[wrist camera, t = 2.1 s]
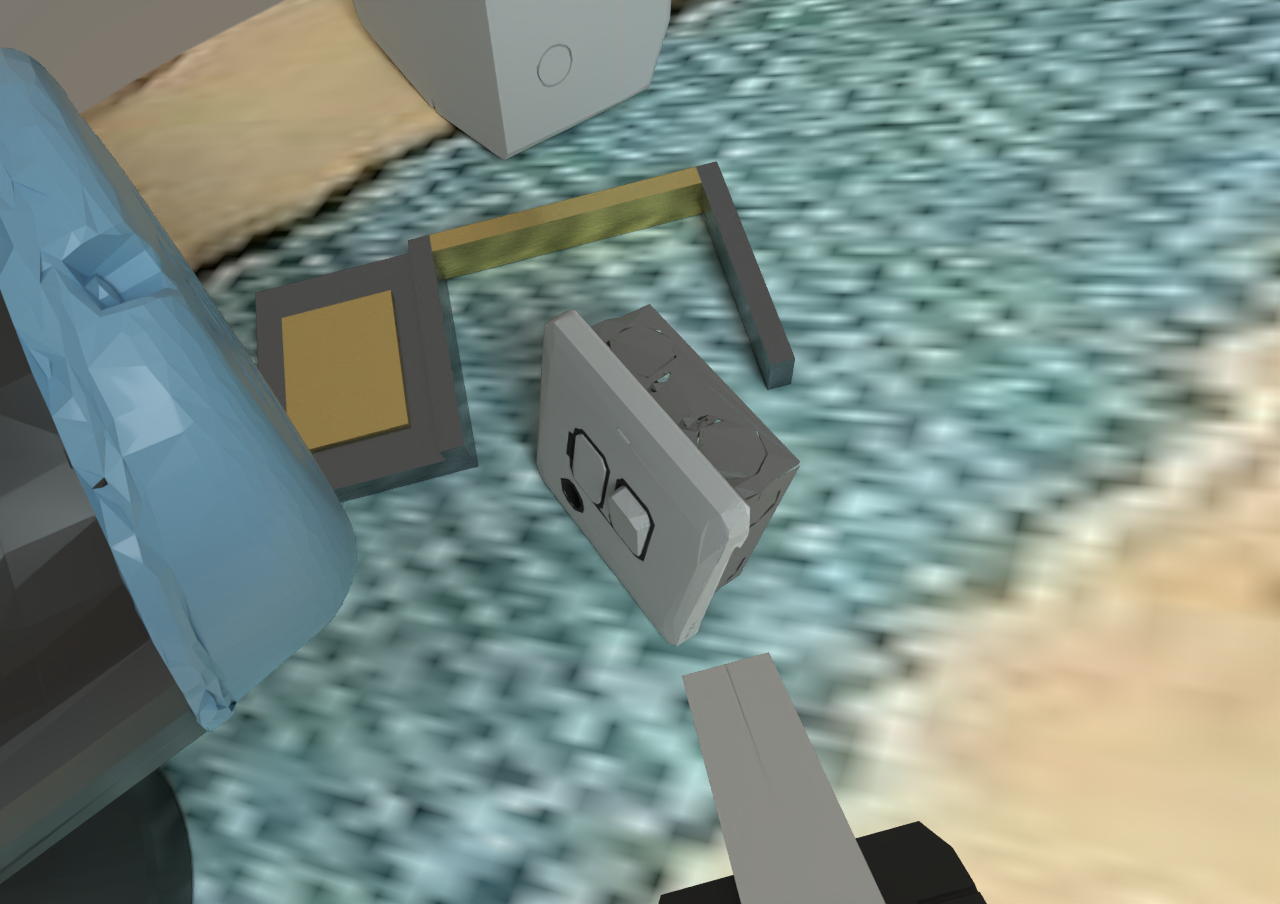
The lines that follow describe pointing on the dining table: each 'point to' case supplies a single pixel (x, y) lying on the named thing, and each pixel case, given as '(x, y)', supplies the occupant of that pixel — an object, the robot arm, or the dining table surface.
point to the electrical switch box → (520, 60)
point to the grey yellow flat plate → (425, 335)
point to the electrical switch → (655, 461)
